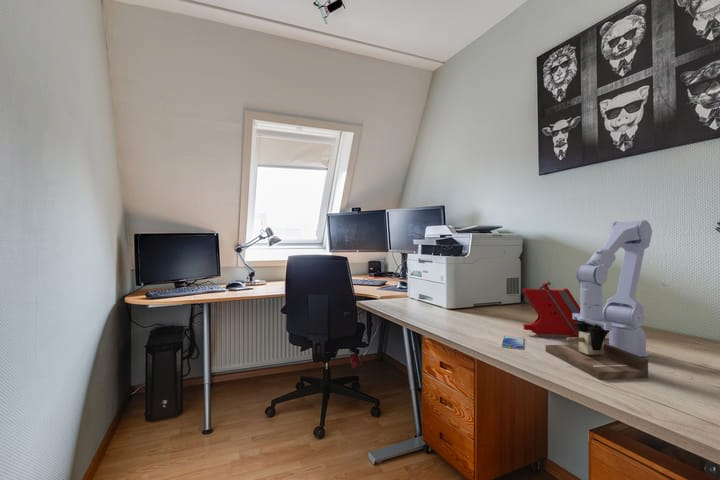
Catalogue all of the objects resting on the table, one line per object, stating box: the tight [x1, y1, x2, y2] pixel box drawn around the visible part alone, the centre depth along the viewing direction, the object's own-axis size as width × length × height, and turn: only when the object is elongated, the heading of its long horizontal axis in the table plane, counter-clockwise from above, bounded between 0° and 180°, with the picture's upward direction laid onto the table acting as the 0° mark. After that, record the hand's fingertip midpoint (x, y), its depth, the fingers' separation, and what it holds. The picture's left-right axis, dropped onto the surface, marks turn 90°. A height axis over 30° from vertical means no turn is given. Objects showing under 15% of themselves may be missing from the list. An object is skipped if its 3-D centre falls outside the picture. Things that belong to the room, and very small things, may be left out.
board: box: [545, 342, 649, 380], centre depth 107 cm, size 14×24×5 cm, turn 4°
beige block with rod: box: [565, 331, 605, 355], centre depth 108 cm, size 10×4×6 cm, turn 94°
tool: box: [522, 281, 580, 339], centre depth 137 cm, size 27×6×27 cm, turn 86°
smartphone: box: [500, 335, 525, 351], centre depth 128 cm, size 7×1×15 cm
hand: (591, 347), depth 109 cm, fingers closed on beige block with rod, 4 cm apart
